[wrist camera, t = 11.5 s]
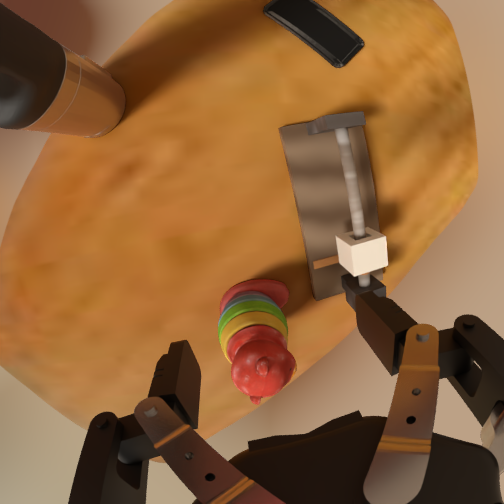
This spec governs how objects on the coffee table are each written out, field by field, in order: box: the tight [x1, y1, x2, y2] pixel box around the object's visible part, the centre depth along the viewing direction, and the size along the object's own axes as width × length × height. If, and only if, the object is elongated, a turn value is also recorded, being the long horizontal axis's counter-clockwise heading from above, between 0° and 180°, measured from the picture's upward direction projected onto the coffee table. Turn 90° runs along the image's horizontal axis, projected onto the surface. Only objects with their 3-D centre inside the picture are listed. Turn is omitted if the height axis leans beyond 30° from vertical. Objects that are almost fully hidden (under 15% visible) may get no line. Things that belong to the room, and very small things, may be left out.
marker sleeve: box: [336, 227, 388, 277], centre depth 35 cm, size 4×5×5 cm
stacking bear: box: [218, 279, 297, 405], centre depth 35 cm, size 11×10×18 cm
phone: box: [263, 0, 364, 68], centre depth 31 cm, size 8×1×15 cm
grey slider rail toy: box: [279, 111, 386, 312], centre depth 36 cm, size 26×12×9 cm, turn 14°
